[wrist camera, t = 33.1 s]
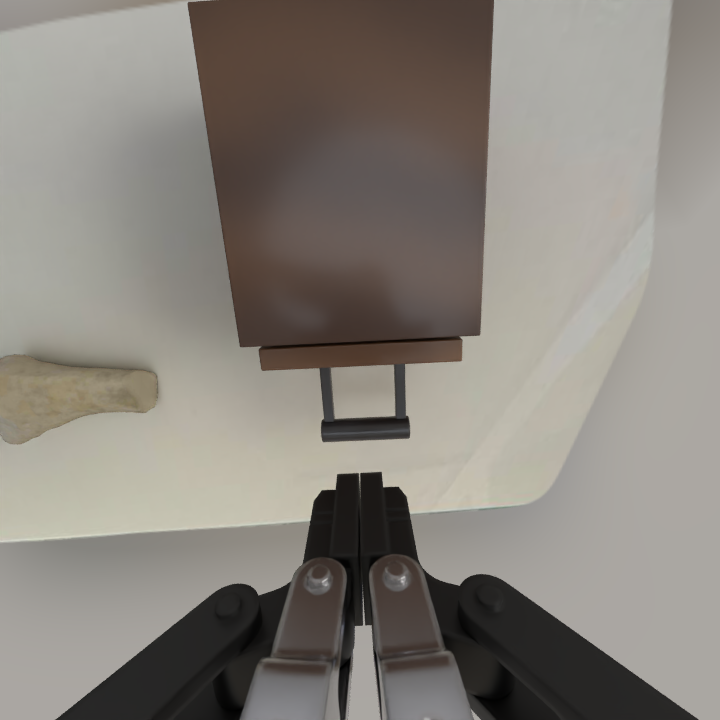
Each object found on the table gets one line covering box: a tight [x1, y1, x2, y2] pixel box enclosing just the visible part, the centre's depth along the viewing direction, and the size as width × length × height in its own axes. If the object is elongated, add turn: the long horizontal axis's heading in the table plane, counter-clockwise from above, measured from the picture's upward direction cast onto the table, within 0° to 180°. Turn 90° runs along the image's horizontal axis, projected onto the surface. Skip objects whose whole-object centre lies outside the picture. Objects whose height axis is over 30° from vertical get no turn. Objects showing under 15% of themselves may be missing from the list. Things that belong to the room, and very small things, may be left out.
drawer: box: [259, 336, 462, 442], centre depth 22 cm, size 18×10×7 cm, turn 3°
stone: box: [0, 355, 158, 444], centre depth 26 cm, size 11×6×5 cm, turn 105°
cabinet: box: [188, 0, 494, 347], centre depth 20 cm, size 14×12×9 cm
